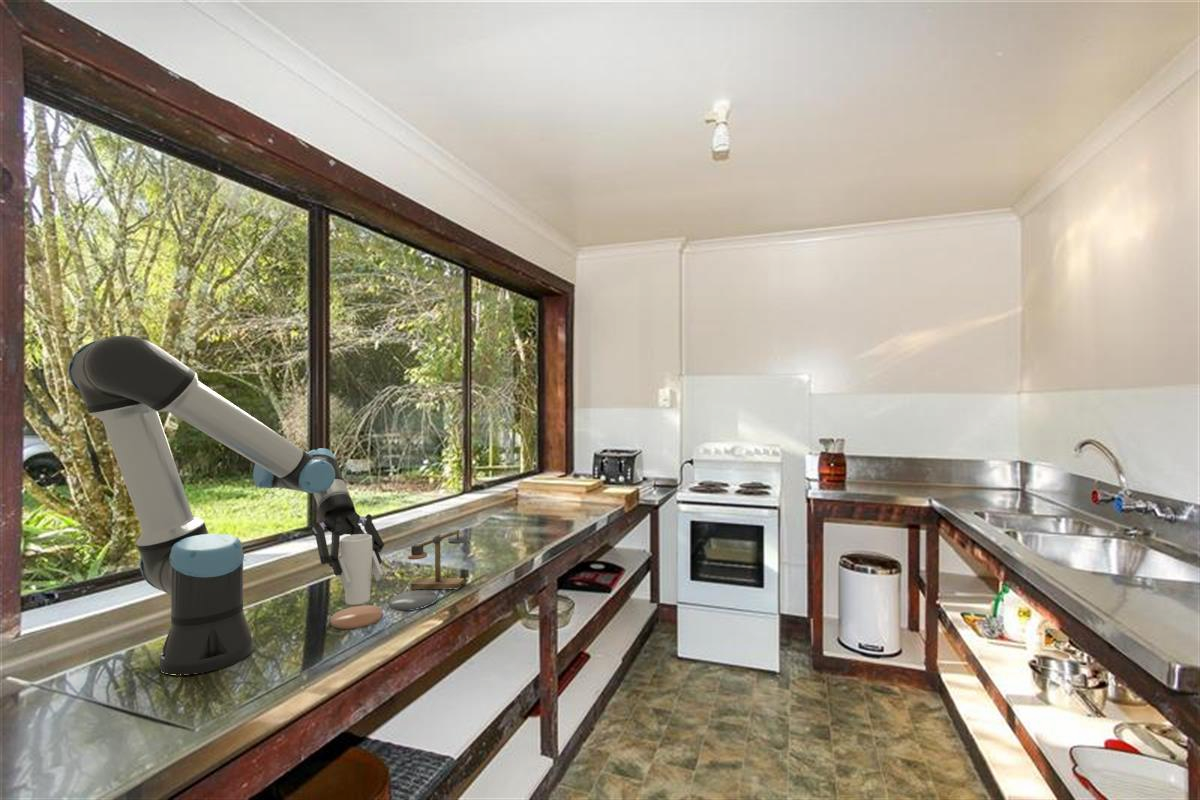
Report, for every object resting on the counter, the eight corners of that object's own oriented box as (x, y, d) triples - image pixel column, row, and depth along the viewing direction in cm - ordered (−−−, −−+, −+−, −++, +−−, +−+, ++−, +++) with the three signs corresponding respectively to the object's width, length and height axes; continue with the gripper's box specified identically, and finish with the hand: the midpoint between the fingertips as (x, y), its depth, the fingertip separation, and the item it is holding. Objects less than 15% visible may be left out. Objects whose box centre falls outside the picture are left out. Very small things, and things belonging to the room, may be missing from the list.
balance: (405, 589, 147) (404, 531, 148) (412, 583, 152) (411, 527, 153) (464, 589, 147) (463, 531, 147) (470, 583, 152) (469, 527, 152)
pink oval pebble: (320, 628, 122) (320, 623, 122) (346, 610, 133) (346, 605, 133) (368, 629, 121) (368, 623, 121) (390, 610, 132) (390, 605, 132)
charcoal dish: (382, 610, 132) (382, 605, 132) (401, 594, 143) (401, 590, 143) (427, 610, 132) (426, 605, 132) (442, 594, 143) (442, 590, 143)
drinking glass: (338, 600, 128) (337, 536, 128) (369, 594, 132) (368, 532, 132) (345, 609, 123) (344, 542, 123) (377, 602, 127) (375, 537, 127)
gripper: (369, 505, 145) (399, 579, 134) (287, 518, 131) (314, 602, 120) (377, 487, 141) (409, 562, 130) (295, 498, 127) (323, 583, 116)
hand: (364, 581), depth 125 cm, fingers closed on drinking glass, 7 cm apart
